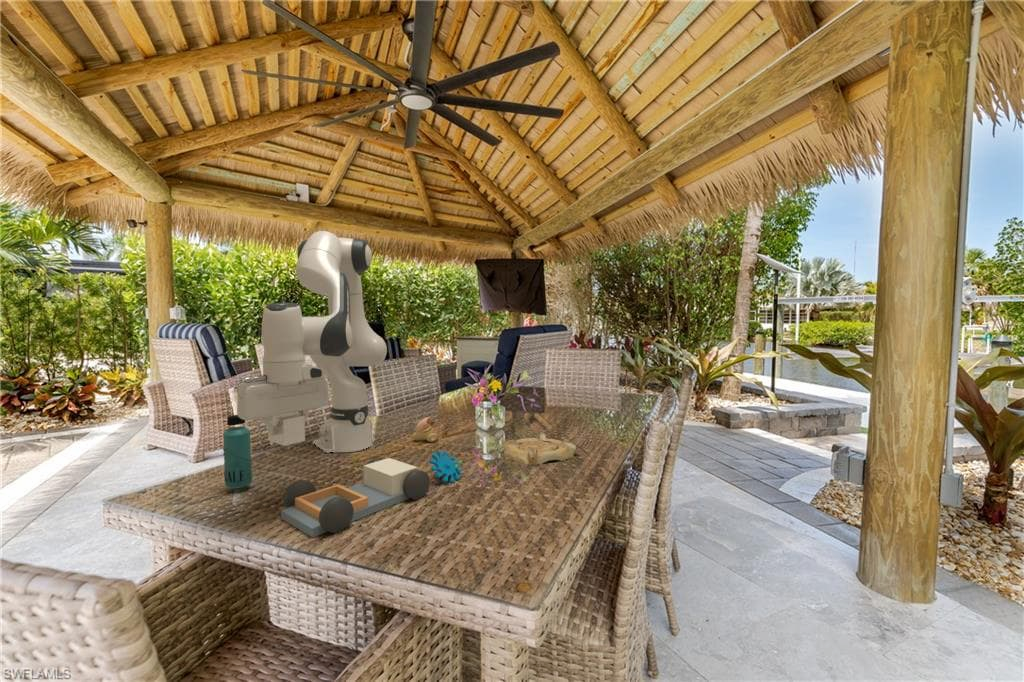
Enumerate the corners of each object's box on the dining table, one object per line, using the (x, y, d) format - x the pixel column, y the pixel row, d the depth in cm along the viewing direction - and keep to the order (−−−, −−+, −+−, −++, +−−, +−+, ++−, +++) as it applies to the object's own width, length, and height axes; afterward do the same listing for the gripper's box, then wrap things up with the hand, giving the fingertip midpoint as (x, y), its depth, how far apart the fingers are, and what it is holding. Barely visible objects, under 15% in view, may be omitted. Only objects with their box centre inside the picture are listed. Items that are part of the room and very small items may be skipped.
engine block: (268, 440, 109) (267, 415, 108) (289, 436, 113) (288, 411, 113) (284, 445, 105) (283, 419, 104) (305, 440, 109) (304, 415, 108)
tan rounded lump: (446, 442, 169) (435, 428, 162) (422, 455, 168) (409, 442, 162) (440, 424, 175) (429, 410, 169) (416, 437, 175) (404, 423, 168)
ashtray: (584, 464, 145) (584, 448, 144) (509, 468, 141) (509, 452, 140) (563, 442, 168) (563, 428, 168) (498, 445, 164) (498, 431, 164)
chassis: (277, 516, 108) (276, 486, 107) (391, 477, 133) (391, 453, 132) (317, 540, 97) (316, 508, 96) (434, 492, 121) (433, 466, 121)
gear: (440, 482, 124) (426, 450, 129) (429, 494, 127) (416, 462, 132) (471, 477, 132) (456, 447, 137) (459, 488, 135) (446, 458, 140)
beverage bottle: (249, 482, 128) (246, 411, 127) (256, 489, 124) (253, 415, 122) (221, 489, 124) (218, 415, 122) (228, 496, 119) (225, 419, 118)
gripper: (243, 379, 98) (246, 444, 98) (331, 369, 114) (333, 424, 115) (230, 377, 101) (232, 439, 102) (317, 367, 118) (318, 421, 119)
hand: (286, 431), depth 109 cm, fingers closed on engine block, 5 cm apart
